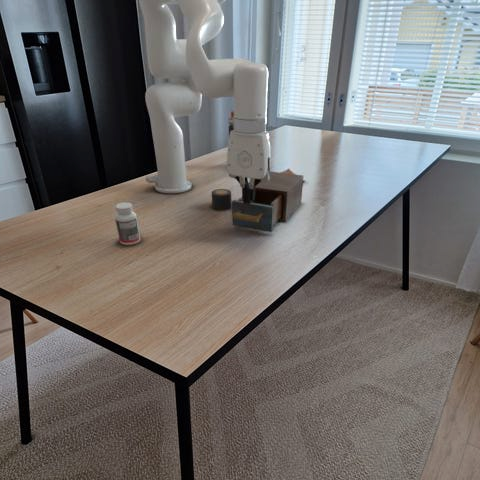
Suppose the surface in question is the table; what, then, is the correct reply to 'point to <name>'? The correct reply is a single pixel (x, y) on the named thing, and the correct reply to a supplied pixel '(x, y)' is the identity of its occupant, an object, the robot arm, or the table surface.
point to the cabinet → (284, 190)
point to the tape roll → (221, 199)
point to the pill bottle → (127, 224)
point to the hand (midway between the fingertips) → (248, 201)
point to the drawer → (258, 211)
